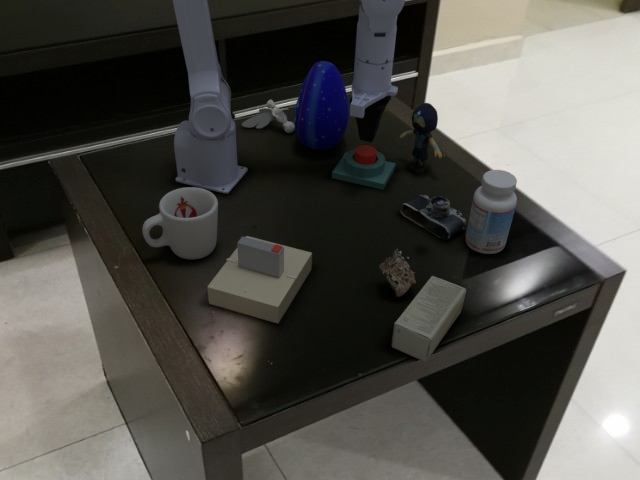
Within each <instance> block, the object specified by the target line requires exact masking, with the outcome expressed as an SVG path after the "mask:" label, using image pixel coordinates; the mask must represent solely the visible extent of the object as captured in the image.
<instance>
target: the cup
mask: <svg viewBox="0 0 640 480" xmlns="http://www.w3.org/2000/svg"><path fill="white" fill-rule="evenodd" d="M158 209H159V213H158V214H156V215H153V216H151V217H149V218H147V219H146V220H145V221H144V223H143V224H142V235H143V238H144V240H145V242H146V243H147V245H148V246H150V247H152V248H161V247H165V246H167V247H168V246H169V247H170V249H171V251H172V252H173V254H174V255H176V256H178V257H179V258H181V259H183V260H184V259H185V260H199V259H204V258H205V257H208V256H209V255H211V253H212V252H214V250H215V248H216V246H217V241H218V218H219V213H218V212H219V200H218V198H217V197H216V195H215V194H214V193H213V192H211V190H208V189H204V188H200V187H196V186H187V187H186V186H185V187H180V188H176V189H173V190H171V191H169V192H168V193H166V194H165V195H163V196H162V198H161V199H160V201H159V203H158ZM155 226H160V227H161V228H162V233H161V236H160V237H159V238H156V239H154V238H152V237H151V235H150V233H151V232H150V231H151V229H152V228H154V227H155Z"/></svg>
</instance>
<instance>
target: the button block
mask: <svg viewBox="0 0 640 480" xmlns="http://www.w3.org/2000/svg"><path fill="white" fill-rule="evenodd" d="M355 149H356V148H354V149H351V150H349V151H347V152H345V153H344V154H343V155H342V157H341V159H340V160H339V161H338V162H337V164H336V165H335V167H334V168H333V170H332V171H331V179H333V180H334V179H335V180H338V181H343V182H347V183H351V184H356V185H360V186H363V187H364V186H365V187H369V188H372V189H378V190H385V188H386V186H387V184H388V183H389V181H390V179H391V178H392V176H393V174H394V172H395V170H396V165H397V163H396V162H392V161H387V160H386V158H385V155H384V154H383V153H382V152H380V151H379V150H377V149H376V151H377V155H376V162H375V163H373V164H370V165H363V164H359V163H357V162H355V161H354V155H355Z"/></svg>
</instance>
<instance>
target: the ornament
mask: <svg viewBox="0 0 640 480" xmlns="http://www.w3.org/2000/svg"><path fill="white" fill-rule="evenodd" d="M348 99H349V98H348V94H347V89H346V86H345V82H344V79H343V77H342V74H341V72H340V71H339V69H338V68H337V66H335V64H333V63H332V62H329V61H325V60H321V61H316V62H315V63H313V65H312V67H311V68H310V70H309V71H308V72H307V74H306V76H305V78H304V80H303V81H302V86H301V89H300V91H299V94H298V97H297V100H296V103H295V107H294V111H293V115H294V119H293V123H294V125H295V130H294V131H295V133H296V137H297V139H298V140H299V142H300V143H301V144H302V145H303V146H304V147H306V148H309V149H312V150H319V151H320V150H324V151H325V150H329V149H331V148H333V147H335V146H337V145H338V144H339V143H340V142H341V140H342V139H343V137H344V135H345V134H346V131H347V129H348V124H349V116H350V104H349V100H348Z"/></svg>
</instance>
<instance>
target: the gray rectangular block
mask: <svg viewBox="0 0 640 480" xmlns="http://www.w3.org/2000/svg"><path fill="white" fill-rule="evenodd" d="M276 244H277V243H276ZM276 244H275V245H273V244H269V243H265V242H262V241H258V240H254V239H250V238H247V237H246V236H241V237H240V239H239V240H238V241H237V243H236V246H237V247H236V249H238V265H239V267H242V268H246V269H249V270H253V271H257V272H260V273H264V274H267V275H271V276H275V277H278V278H280V276H281V275H282V273H283V272H284V247H282V246H280V245H281V244H280V245H276Z"/></svg>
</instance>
